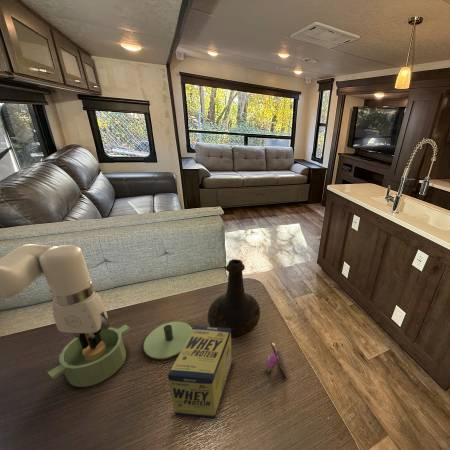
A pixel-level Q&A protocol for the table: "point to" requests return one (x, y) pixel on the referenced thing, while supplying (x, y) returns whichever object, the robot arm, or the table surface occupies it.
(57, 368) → the pot
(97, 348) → the disc with rod handle
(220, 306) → the glass bottle
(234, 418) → the table surface
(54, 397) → the table surface
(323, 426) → the table surface
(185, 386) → the protein box
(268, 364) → the purple flower twig
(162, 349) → the pot lid
